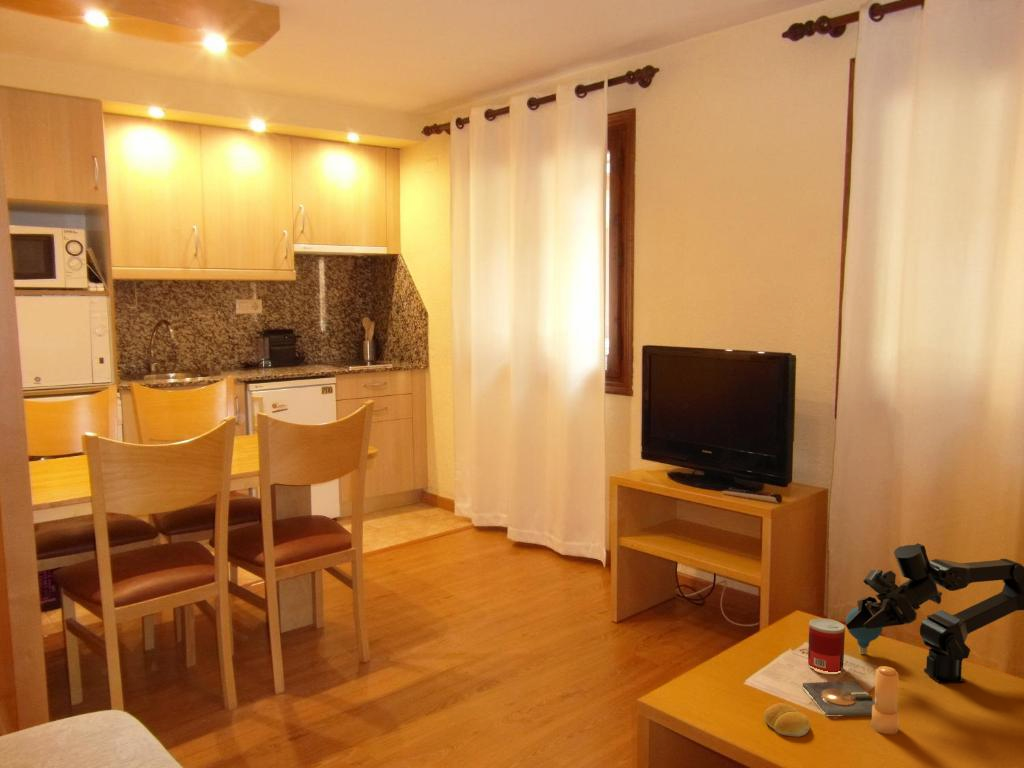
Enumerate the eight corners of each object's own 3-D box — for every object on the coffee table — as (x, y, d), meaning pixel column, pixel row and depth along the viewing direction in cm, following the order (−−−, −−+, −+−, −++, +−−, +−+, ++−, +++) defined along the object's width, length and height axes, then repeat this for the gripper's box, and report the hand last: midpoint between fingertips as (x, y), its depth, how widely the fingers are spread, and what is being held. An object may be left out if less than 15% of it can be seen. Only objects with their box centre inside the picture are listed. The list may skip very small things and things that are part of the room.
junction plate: (853, 687, 177) (854, 679, 177) (881, 714, 165) (881, 706, 165) (802, 689, 176) (802, 681, 176) (826, 716, 164) (826, 708, 164)
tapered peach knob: (889, 721, 162) (892, 663, 161) (903, 734, 157) (905, 675, 156) (866, 721, 162) (869, 664, 161) (879, 734, 157) (881, 675, 156)
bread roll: (786, 742, 155) (787, 723, 155) (757, 720, 163) (758, 702, 163) (819, 734, 158) (819, 715, 157) (789, 712, 166) (790, 695, 166)
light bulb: (837, 650, 196) (839, 604, 195) (861, 644, 200) (863, 599, 199) (864, 663, 189) (866, 616, 188) (889, 657, 192) (891, 611, 191)
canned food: (848, 675, 183) (850, 631, 182) (814, 675, 183) (816, 630, 182) (835, 661, 190) (837, 618, 189) (803, 660, 191) (804, 617, 189)
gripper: (871, 566, 189) (819, 596, 186) (910, 559, 171) (853, 592, 169) (898, 608, 186) (846, 639, 183) (941, 605, 168) (883, 639, 166)
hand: (855, 627), depth 175 cm, fingers open, 9 cm apart
